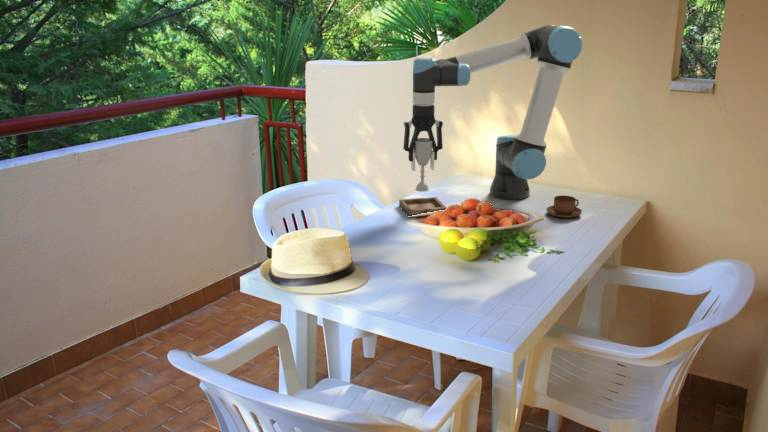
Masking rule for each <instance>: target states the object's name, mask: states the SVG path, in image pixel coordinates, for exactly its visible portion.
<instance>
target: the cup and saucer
mask: <svg viewBox="0 0 768 432" xmlns="http://www.w3.org/2000/svg"><path fill="white" fill-rule="evenodd" d="M579 203H580V201H579V199H578V198H576V197H574V196H572V195H556V196H554V197H553V205H550V206H548V207H547V208H546V212H547V213H548V214H549V215H550V216H553V217H555V218H560V219H561V218H565V219H572V218H576V217H579V216H580V215H582V214H583V212H582V211H583V210H582V209H581V208H579V207H578V206H579Z"/></svg>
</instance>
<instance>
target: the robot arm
mask: <svg viewBox="0 0 768 432" xmlns="http://www.w3.org/2000/svg"><path fill="white" fill-rule="evenodd" d="M582 50H583V40H582V36H581V35H580V33H579V32H578V31H577V30H576V29H575V28H573V27H570V26H567V25H556V24H548V25H544V26H541V27H538V28H536V29H535V28H534V29H532V30H529V31H527V32H523V33H521V34H520V35H519V37H516V38H514V39H509V40H506V41H503V42H500V43H496V44H493V45H490V46H485V47H482V48H479V49H476V50H472V51H469V52H466V53H462V54H459V55H456V56H453V57H449V58H446V59H443V58H441V59H437V60H436V59H435V58H434V57H417V58H415V59H414V60H413V64H412V65H413V67H412V103H413V105H412V118H411V119H410V120H409V121H404V122H403V126H404V135H403V150H404V151H406V152H408V161H409V162H410V166H411V167H410V169H411V171H412V172H416V158H415V152H414V148H415V145H416V142H415V141H417V139H418V138H419V135H420V134H421V132H422V133H423V132H426V133H427V135H428V138H429V139H430V141H433V142H432V155H431V157H430V160H429V169H430V170H432V171H434V170H435V161H437V160H438V152H439V150H440V151H441V150H443V147H444V146H443V131H442V128H443V124H444V123H443V121H442V120H436V117H435V103H436V102H435V98H436V94H435V93H436V87H464V86H467V85H469V83H470V82H471V75H472V74H474V73H479V72H481V71H485V70H489V69H492V68H495V67H499V66H503V65H505V64H509V63H513V62H516V61H519V60H522V59H525V60H527V61H529V60H533V59H537V64H538V67H539V68H538V69H539V70H538V73H537V77H536V79H535V83H534V86H533V89H532V93H531V96H530V101H529V103H528V107H527V111H526V114H525V117H524V120H523V124H522V128H521V131H520V133H519V134H513V135H510V134H509V135H500V136H498V137H497V138H496V144H495V146H496V147H495V171H494V172H495V173H494V177H493V178H492V179H493V180H492V182H491V185H490V188H489V195H490V196H491V197H494V198H496V199H501V200H523V199H527V198H529V197H530V193H531V190H530V186H529V182H528V180H533V179H536V178H537V177H539V176H540V175H542V174H543V172H544V171H545V170H546V166H547V158H546V156H545V152H546V149H547V143H546V141H545V137H546V134H547V131H548V127H549V123H550V121H551V118H552V114H553V112H554V111H553V110H554V107H555V105H556V101H557V97H558V94H559V91H560V89H561V85H562V81H563V79H564V75H565V74H566V72H568V71H570V70H571V68H572V64H573V61H575V60H576V59H577V58H578V57H579V56H580V55H581V52H582ZM434 125H435V129H436V140H435V137H434V133H433V129H432V128H433V126H434ZM412 126H413V127H414V129H413V134H412V137H411V140H410V134H411V128H412Z"/></svg>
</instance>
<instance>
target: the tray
mask: <svg viewBox="0 0 768 432" xmlns="http://www.w3.org/2000/svg"><path fill="white" fill-rule="evenodd" d="M398 201H399V203H398V205H399V208H400V207H401V208H402V209H401V208H400V209H401V210H402V212H403V213H404V212H405V213H406V214H407V215H406V214H405V213H404V214H405V215H406V217H408V216H412V215H417V214H421V213H427V212H434V211H439V210H445V209H446V208H447V206H446V205H445V204H444V203H443V202H442V201H441V200H440V199H439V198H438V197H437V196H434V197H433V196H430V197H419V198H418V197H417V198H416V197H415V198H403V199H400V198H399V200H398ZM447 209H448V208H447Z"/></svg>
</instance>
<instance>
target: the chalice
mask: <svg viewBox="0 0 768 432" xmlns="http://www.w3.org/2000/svg"><path fill="white" fill-rule="evenodd" d="M415 142H416V145H415V148H414V152H415V161H416V163H418V166H420V168H421V169H420V172H419V173H420V175H419V177H420V179H421V180H420V182H419V183H417V185H416V187H415V191H416V192H428V191H430V188H429V186H428V183H426V182H425V177H426V176H425V172H426V171H425V167H426V166H427V165H428V164H429V163H430V157H431V155H432V150H433V149H432V142H433V141H430V139H429V137H428V138H427V137H418V139H417V141H415Z"/></svg>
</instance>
